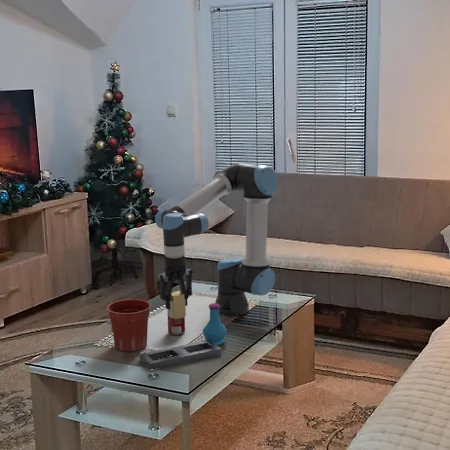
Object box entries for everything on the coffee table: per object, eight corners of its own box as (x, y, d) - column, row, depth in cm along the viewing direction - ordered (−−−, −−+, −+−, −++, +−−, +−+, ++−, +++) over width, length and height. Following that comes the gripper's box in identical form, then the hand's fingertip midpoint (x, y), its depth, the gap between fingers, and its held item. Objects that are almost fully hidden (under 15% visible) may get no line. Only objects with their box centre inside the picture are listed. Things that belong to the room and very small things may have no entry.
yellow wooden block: (180, 313, 268) (179, 290, 266) (185, 317, 264) (184, 294, 262) (169, 315, 266) (168, 292, 264) (174, 319, 262) (173, 296, 260)
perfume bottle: (230, 338, 275) (229, 302, 272) (222, 347, 266) (221, 309, 263) (207, 336, 278) (207, 299, 275) (199, 344, 269) (198, 307, 266)
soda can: (182, 336, 278) (181, 307, 275) (166, 335, 279) (165, 306, 277) (186, 330, 284) (186, 302, 282) (170, 329, 286) (169, 301, 283)
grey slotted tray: (209, 346, 268) (209, 339, 267) (221, 355, 259) (221, 348, 258) (140, 360, 255) (139, 354, 254) (150, 370, 246) (150, 363, 246)
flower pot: (119, 357, 258) (117, 316, 254) (102, 343, 271) (99, 304, 268) (159, 348, 266) (158, 307, 263) (140, 335, 280) (139, 296, 277)
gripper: (191, 249, 267) (193, 308, 272) (148, 256, 259) (151, 316, 264) (200, 254, 260) (202, 314, 265) (156, 261, 252) (159, 322, 257)
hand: (177, 315), depth 265 cm, fingers closed on yellow wooden block, 4 cm apart
